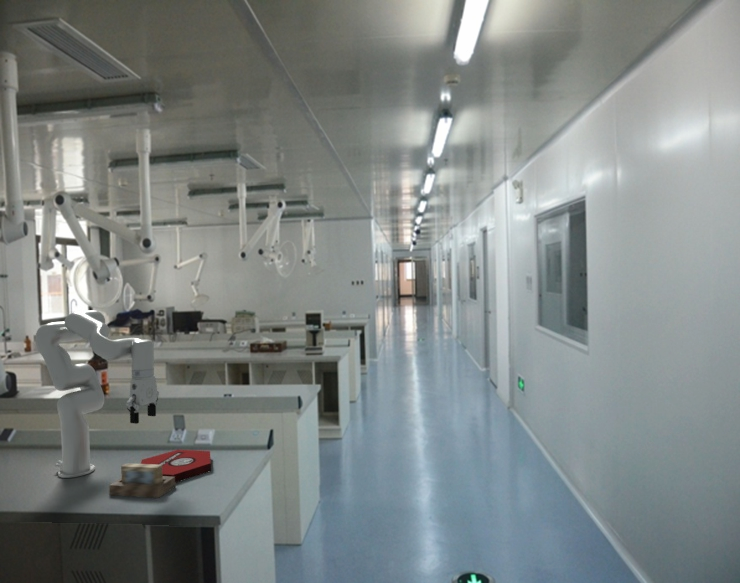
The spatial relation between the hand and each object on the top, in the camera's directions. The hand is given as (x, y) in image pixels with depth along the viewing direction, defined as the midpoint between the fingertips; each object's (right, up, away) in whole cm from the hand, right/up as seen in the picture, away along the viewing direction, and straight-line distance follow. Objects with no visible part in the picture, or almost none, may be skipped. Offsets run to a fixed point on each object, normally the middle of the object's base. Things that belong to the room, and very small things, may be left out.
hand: (143, 419), depth 190 cm
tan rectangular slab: (+3, -22, -8) cm, 24 cm away
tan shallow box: (+3, -23, -8) cm, 25 cm away
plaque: (+7, -23, +13) cm, 28 cm away
